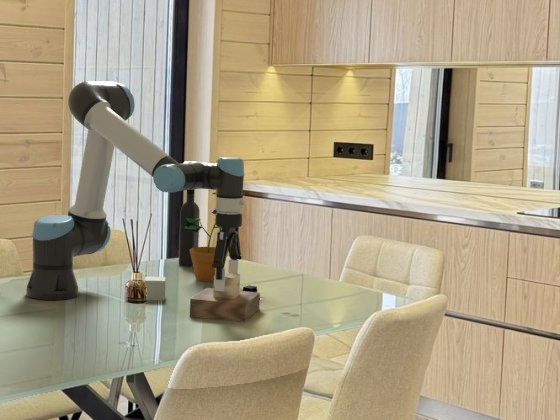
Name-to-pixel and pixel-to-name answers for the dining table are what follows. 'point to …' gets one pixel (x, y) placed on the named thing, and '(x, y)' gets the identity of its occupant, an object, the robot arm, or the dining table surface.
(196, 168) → the robot arm
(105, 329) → the dining table surface
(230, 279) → the maple cube
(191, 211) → the wine bottle
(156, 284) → the sage cube
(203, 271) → the potted plant
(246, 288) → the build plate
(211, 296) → the walnut block
